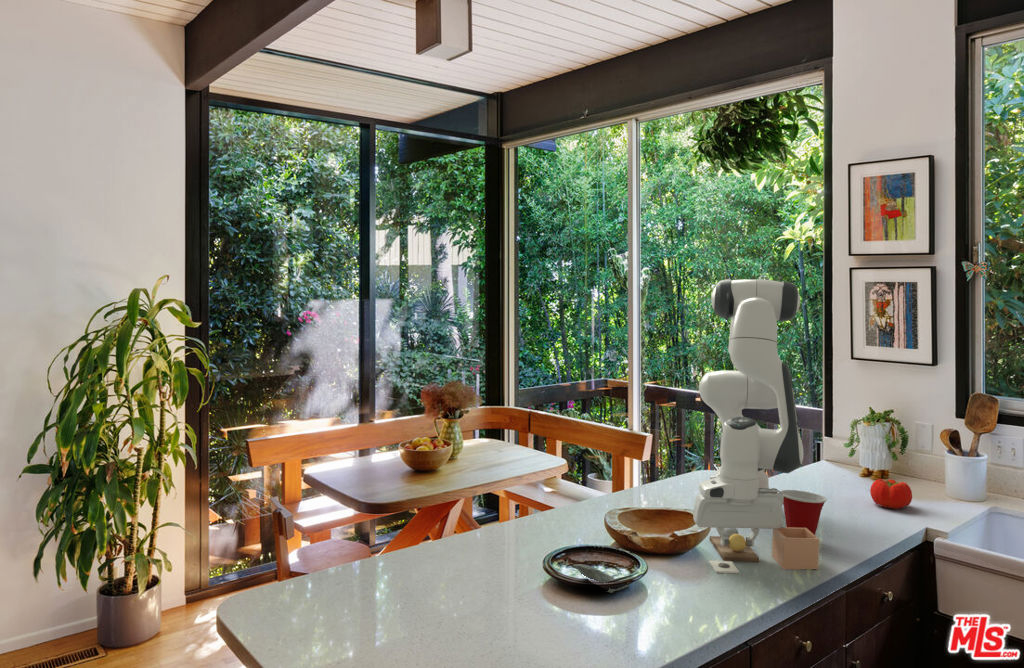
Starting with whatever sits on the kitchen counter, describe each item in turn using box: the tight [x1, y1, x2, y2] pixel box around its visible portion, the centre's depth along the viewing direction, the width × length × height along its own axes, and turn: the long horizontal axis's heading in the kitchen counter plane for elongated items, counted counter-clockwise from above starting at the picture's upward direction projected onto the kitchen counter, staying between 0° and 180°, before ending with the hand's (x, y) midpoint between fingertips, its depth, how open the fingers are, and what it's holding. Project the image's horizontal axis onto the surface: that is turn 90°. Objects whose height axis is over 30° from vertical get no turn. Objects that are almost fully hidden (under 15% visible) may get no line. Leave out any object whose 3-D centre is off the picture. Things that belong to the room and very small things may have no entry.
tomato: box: [869, 478, 913, 510], centre depth 208 cm, size 11×11×8 cm
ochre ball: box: [728, 533, 746, 552], centre depth 167 cm, size 4×4×4 cm
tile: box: [709, 560, 740, 574], centre depth 160 cm, size 6×5×1 cm
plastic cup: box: [780, 489, 827, 536], centre depth 178 cm, size 11×11×12 cm
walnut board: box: [709, 535, 760, 563], centre depth 171 cm, size 14×8×1 cm, turn 178°
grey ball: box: [722, 528, 740, 539], centre depth 173 cm, size 4×4×4 cm
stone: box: [572, 563, 630, 594], centre depth 150 cm, size 11×4×10 cm
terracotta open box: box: [771, 526, 820, 571], centre depth 163 cm, size 8×8×7 cm
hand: (737, 545), depth 168 cm, fingers open, 4 cm apart
